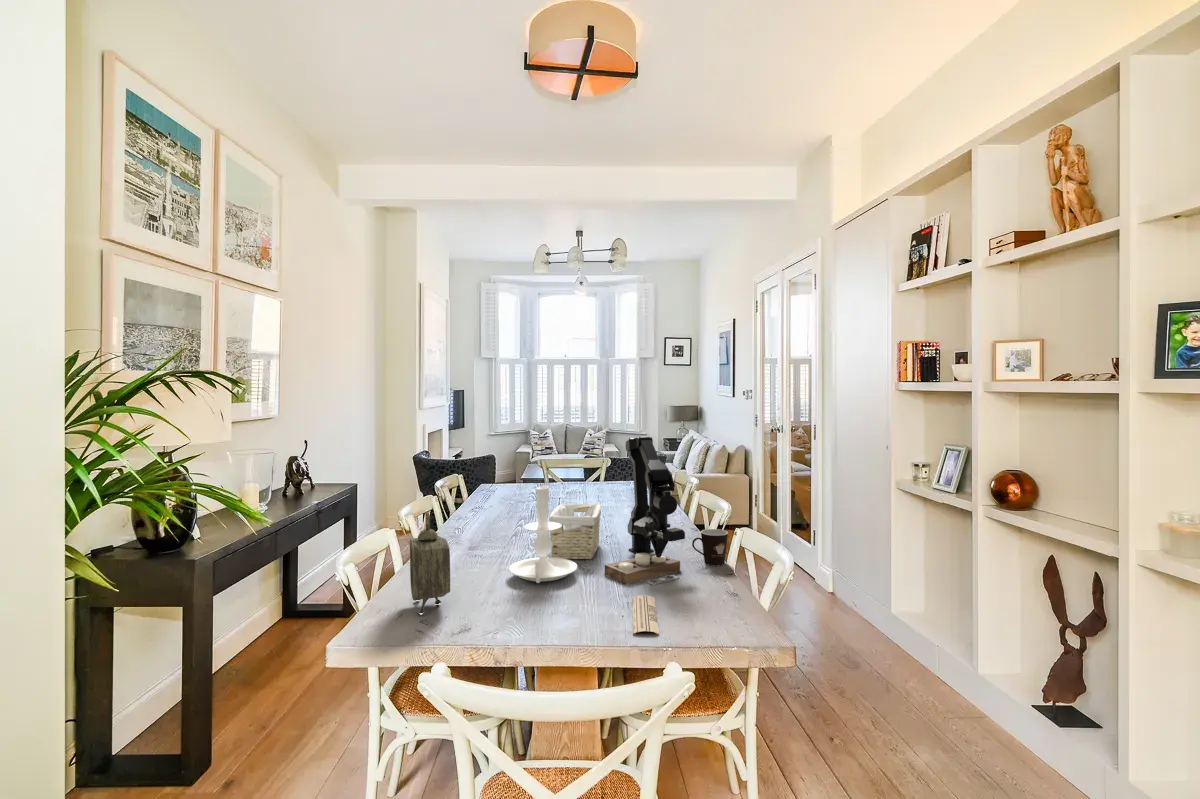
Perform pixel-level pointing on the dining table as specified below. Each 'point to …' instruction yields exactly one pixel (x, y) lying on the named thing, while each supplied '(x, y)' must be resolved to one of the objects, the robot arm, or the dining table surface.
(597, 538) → the storage basket
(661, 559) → the button
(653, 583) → the card
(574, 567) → the candlestick
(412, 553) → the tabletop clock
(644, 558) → the button
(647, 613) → the newspaper
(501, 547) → the dining table surface
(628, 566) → the button
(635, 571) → the wooden compartment tray
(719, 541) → the coffee mug
